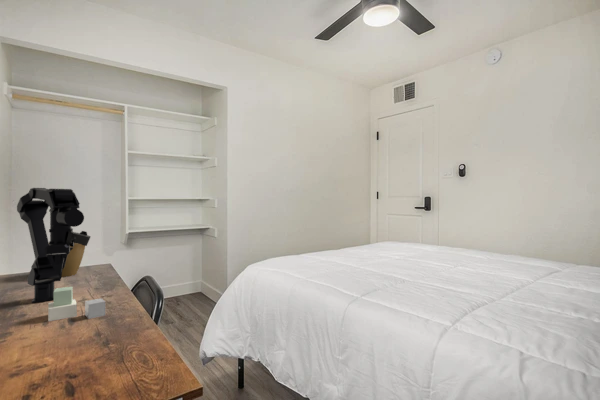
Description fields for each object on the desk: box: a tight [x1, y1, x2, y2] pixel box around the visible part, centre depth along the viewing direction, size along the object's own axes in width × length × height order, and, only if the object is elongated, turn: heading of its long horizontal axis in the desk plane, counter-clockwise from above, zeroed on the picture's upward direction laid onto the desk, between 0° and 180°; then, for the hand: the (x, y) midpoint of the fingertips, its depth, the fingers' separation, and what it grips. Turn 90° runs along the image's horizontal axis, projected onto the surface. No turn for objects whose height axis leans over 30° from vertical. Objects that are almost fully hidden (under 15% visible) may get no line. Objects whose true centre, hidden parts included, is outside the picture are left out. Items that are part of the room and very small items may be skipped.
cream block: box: [47, 298, 78, 322], centre depth 102 cm, size 7×7×4 cm
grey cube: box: [84, 297, 106, 320], centre depth 102 cm, size 4×4×4 cm
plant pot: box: [61, 243, 86, 278], centre depth 155 cm, size 15×15×16 cm
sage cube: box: [53, 286, 74, 307], centre depth 102 cm, size 4×4×4 cm
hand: (60, 271), depth 110 cm, fingers open, 9 cm apart
